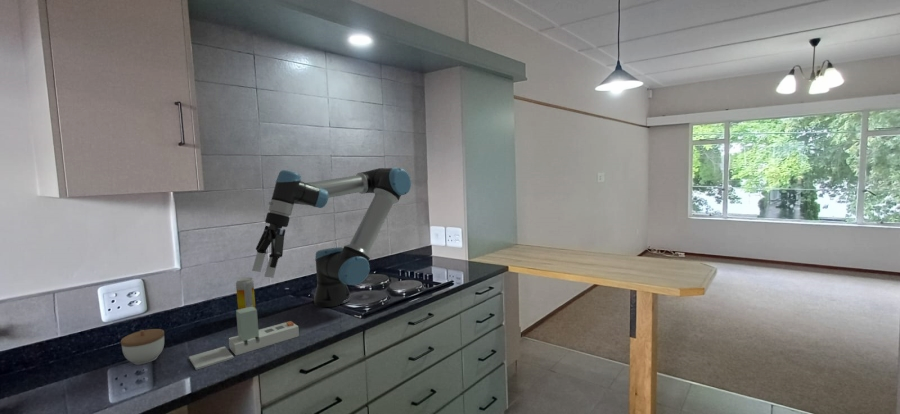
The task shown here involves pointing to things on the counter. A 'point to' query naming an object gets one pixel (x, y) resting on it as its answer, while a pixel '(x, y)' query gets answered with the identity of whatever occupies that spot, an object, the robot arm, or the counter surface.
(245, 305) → the beer can
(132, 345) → the lidded jar
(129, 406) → the counter surface
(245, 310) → the block
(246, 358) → the counter surface
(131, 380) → the counter surface
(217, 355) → the mat
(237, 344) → the power strip
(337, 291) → the robot arm
